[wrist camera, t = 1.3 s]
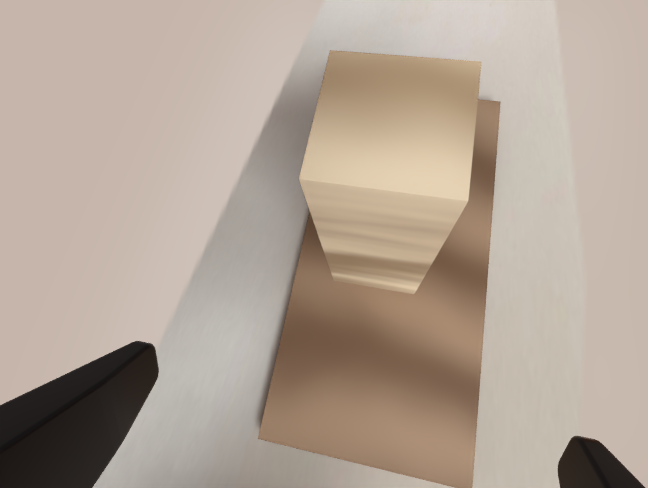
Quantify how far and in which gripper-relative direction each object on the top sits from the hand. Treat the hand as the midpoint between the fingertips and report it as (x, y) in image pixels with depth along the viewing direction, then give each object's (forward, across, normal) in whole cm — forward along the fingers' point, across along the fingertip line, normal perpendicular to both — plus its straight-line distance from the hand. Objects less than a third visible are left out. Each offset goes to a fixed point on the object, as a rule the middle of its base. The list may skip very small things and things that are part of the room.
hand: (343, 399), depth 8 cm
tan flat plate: (+15, -1, +4) cm, 15 cm away
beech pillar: (+14, 0, +3) cm, 15 cm away
